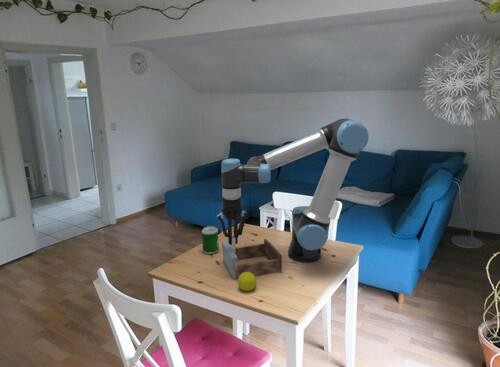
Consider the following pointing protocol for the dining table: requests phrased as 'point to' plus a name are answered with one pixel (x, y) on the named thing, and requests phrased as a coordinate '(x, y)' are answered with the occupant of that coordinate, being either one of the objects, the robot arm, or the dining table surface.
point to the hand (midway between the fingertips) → (233, 251)
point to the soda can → (210, 240)
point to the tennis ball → (247, 281)
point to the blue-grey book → (229, 258)
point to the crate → (264, 266)
